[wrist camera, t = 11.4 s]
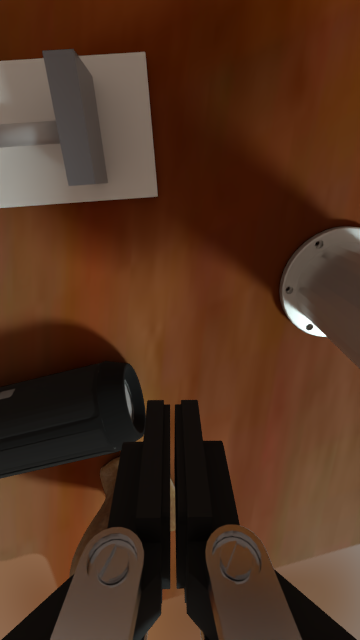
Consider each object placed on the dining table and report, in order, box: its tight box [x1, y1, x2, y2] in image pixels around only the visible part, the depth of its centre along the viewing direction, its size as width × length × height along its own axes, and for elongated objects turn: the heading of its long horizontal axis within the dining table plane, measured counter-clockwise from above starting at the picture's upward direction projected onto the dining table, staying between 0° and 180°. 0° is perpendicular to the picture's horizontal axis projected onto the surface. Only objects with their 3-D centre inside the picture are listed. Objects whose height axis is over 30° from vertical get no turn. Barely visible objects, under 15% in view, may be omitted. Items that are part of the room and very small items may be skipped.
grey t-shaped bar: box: [0, 49, 108, 186], centre depth 25 cm, size 8×8×6 cm
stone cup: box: [69, 457, 176, 578], centre depth 41 cm, size 15×12×15 cm
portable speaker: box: [0, 361, 146, 478], centre depth 36 cm, size 26×10×10 cm, turn 104°
